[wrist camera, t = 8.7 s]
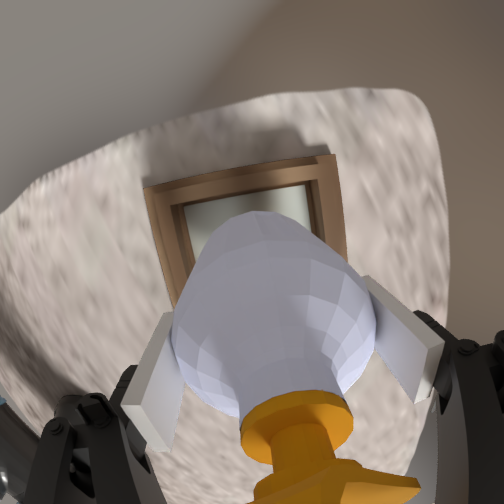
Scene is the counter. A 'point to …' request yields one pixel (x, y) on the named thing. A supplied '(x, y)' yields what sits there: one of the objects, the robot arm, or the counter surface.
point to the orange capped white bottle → (283, 356)
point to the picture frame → (242, 208)
